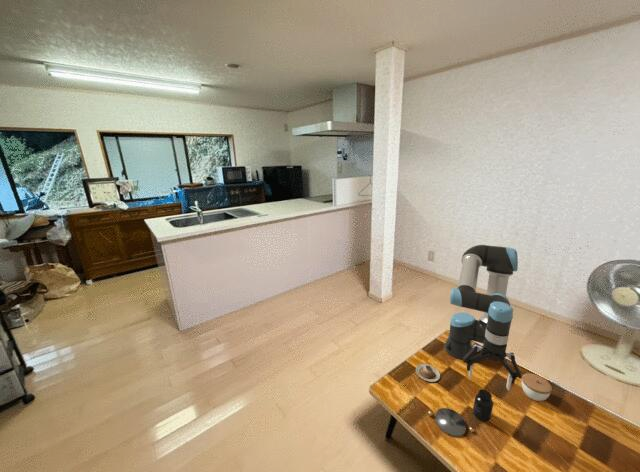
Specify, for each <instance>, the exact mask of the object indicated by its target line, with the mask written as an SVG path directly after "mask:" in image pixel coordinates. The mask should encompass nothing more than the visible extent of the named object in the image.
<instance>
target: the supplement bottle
mask: <svg viewBox="0 0 640 472" xmlns="http://www.w3.org/2000/svg"><path fill="white" fill-rule="evenodd" d="M492 398H493V395H492V393H491V392H490V391H489V390H487V389H485V388H480V389H479V390H478V393H476V394H475V395H474V400H473V401H474V402H473V408H472V414H473V415H474V416H475V417H476V418H477V419H478V420H479V421H482V422H489V421H491V419H492V414H493V409H494V408H493V407H494V401H493V399H492Z"/></svg>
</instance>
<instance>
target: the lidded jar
mask: <svg viewBox="0 0 640 472" xmlns="http://www.w3.org/2000/svg"><path fill="white" fill-rule="evenodd" d="M521 376H522V378H521V388H522V390H523V392H524V394H525V395H526V396H527V397H528V398H529V399H531V400H533V401H536V402H542V401H545V400H547V399H548V398H550V395H551V392H552V390H553V388H552V385H551V383H550V382H549V381H547V379H545V378H544V377H542V376H539V375H537V374H534V373H527V372H526V373H525V374H523V375H521Z"/></svg>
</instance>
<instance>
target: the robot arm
mask: <svg viewBox="0 0 640 472" xmlns="http://www.w3.org/2000/svg"><path fill="white" fill-rule="evenodd" d="M518 259H519V258H518V252H517V250H516V249H515V248H513V247H512V248H511V247H507V246H497V245H488V244H477V245H474V246H471V247H470V248H468V249H467V250H466V251H464V252H463V253H462V256H461V261H460V262H461V264H462V265H461V268H460V269H461V271H460V274H459V279H458V283H457V288H455V287H452V289H451V290H450V295H449V303H450V304H451V305H453V306H456V307H459V308H465V309H469V310H473V311H479V312H482V316H480V317H479V320H478V319H475V316H474V315H472V314H470V313H468V312H456V313H453V314H452V315H451V318H450V321H449V323H450V325H449V332H448V333H449V334H448V337H447V338H446V341H444V350H445V351H446V353H447V354H448V355H450V356H451V357H453V358H455V359H458V360H462V362H463V363H464V364H466V371H468V379H469V380H471V379H472V376H473V375H472V373H473V366H474V365H475V364H476V363H478V362H480V361H482V360H485V359H487V360H490V361H494V362H499V363H500V364H501V365H502V366H503V367H504V369H505V370H506V371H507V373H508V376H507V380H506V385H505V387H506V390H507V391H508V392H510V390H511V386H512V384H513V385H514V384H515V381H516V380H517V378H518V379H522V376H523V375H522V373H521V371H520V368H519V366H518V363H517V362H516V357H515V353H514V352H510V353H508V352H506V351H507V346H508V342H509V335H510V329H511V325H512V322H513V321H512V320H513V319H514V318H513V317H514V308H513V307H512V306H511V303H510V301H509V298H508V297H507V290H508V284H509V278H510V277H511V276H513V275H514V272H518V269H519V267H518V266H519V262H518V261H519V260H518ZM480 267H484V268H486V271H487V273H488V274H489V275H488V281H487V289H486V294H485V293H480V292H476V291H477V286H478V276H479V271H480V270H479V269H480ZM473 341H474V342H476V343H473V344H472V342H473ZM478 343H479V344H482V346H481V345H478ZM479 351H481V352H480V353H478V354H476V353H477V352H479ZM506 357H507V358H508V360H509V361H510V362H511V365H512V366H513V368H512V367H511V366H510V364H509V363H508V362H507V360H506V359H505V358H506Z"/></svg>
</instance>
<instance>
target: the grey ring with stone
mask: <svg viewBox="0 0 640 472" xmlns="http://www.w3.org/2000/svg"><path fill="white" fill-rule="evenodd" d="M415 372H416V375H417V376H418V377H419V378H420V379H422V381H423V380H424V381H425V382H430V383H435V382H437V381H439V380H440V379H441V374H440V371H439V370H438V369H437V367H435V366H433V365H431V364H427V363H420V364H418V365H417V366H416V368H415ZM434 376H435V377H434ZM431 378H432V379H431Z"/></svg>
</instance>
